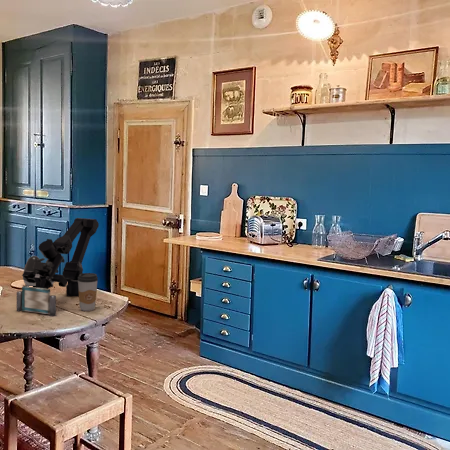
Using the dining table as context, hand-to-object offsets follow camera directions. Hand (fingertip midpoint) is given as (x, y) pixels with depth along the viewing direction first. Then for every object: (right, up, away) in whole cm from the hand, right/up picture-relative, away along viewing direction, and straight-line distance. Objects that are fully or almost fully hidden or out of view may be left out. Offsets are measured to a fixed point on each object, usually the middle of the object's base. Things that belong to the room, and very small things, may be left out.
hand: (35, 295), depth 195 cm
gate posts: (0, -7, -1) cm, 7 cm away
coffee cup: (+19, -7, +8) cm, 22 cm away
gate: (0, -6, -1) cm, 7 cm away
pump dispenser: (-18, -1, +42) cm, 45 cm away
